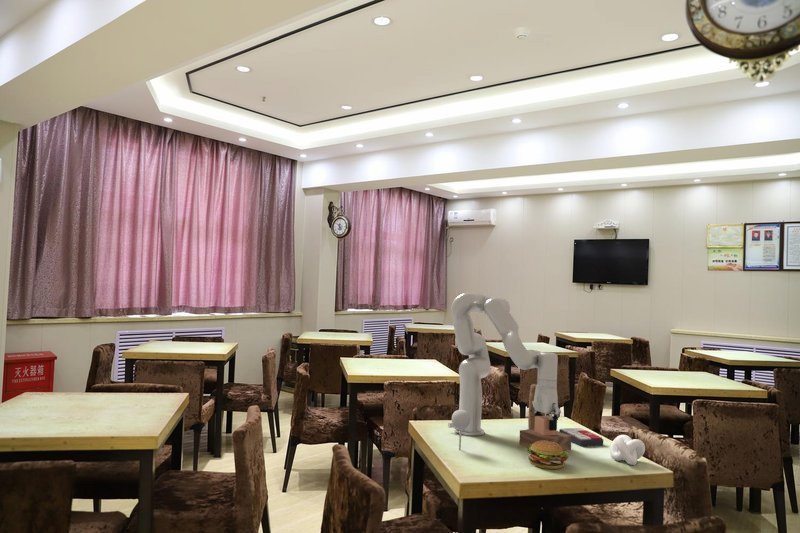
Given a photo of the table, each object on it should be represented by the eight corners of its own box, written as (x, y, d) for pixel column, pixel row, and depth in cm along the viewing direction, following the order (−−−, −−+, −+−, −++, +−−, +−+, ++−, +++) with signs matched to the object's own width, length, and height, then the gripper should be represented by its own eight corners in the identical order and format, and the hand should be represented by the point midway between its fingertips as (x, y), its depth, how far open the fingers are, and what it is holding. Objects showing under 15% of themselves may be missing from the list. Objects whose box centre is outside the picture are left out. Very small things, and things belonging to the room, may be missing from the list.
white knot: (600, 458, 193) (601, 434, 194) (622, 455, 199) (622, 431, 200) (627, 467, 184) (627, 442, 184) (648, 464, 189) (649, 439, 190)
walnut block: (546, 455, 195) (546, 439, 195) (519, 445, 207) (519, 430, 207) (571, 451, 202) (571, 435, 203) (543, 441, 214) (544, 427, 214)
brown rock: (545, 433, 227) (546, 387, 229) (527, 431, 229) (529, 385, 231) (544, 427, 238) (546, 383, 239) (528, 425, 240) (529, 382, 241)
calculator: (581, 438, 208) (559, 427, 222) (581, 449, 208) (558, 437, 222) (604, 437, 212) (580, 426, 226) (603, 448, 212) (579, 436, 226)
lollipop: (458, 446, 200) (459, 406, 201) (473, 450, 195) (474, 410, 196) (446, 449, 195) (448, 409, 196) (461, 453, 190) (462, 412, 191)
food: (576, 469, 179) (577, 446, 179) (540, 471, 175) (541, 447, 175) (553, 457, 192) (554, 435, 192) (520, 459, 188) (520, 436, 188)
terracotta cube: (543, 435, 201) (543, 419, 201) (534, 431, 206) (534, 416, 207) (556, 434, 203) (556, 419, 203) (547, 430, 208) (547, 415, 209)
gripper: (526, 379, 213) (524, 422, 212) (552, 387, 197) (550, 433, 196) (541, 379, 215) (540, 421, 214) (568, 387, 199) (567, 432, 198)
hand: (545, 427), depth 205 cm, fingers open, 9 cm apart
